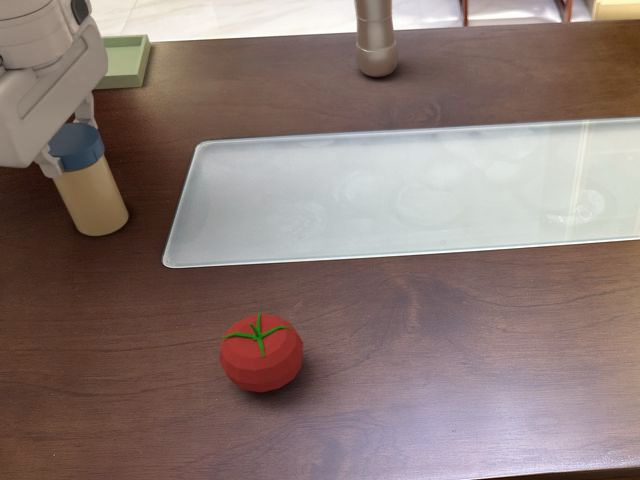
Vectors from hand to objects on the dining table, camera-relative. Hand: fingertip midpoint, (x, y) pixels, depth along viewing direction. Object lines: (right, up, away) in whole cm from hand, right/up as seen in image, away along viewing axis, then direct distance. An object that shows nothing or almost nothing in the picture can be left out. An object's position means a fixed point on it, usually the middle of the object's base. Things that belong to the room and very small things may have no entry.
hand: (73, 152), depth 80 cm
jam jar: (0, -6, +7) cm, 9 cm away
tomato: (+24, -25, -7) cm, 35 cm away
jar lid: (0, +1, -1) cm, 1 cm away
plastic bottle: (+30, +21, +31) cm, 48 cm away
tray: (-12, +21, +29) cm, 38 cm away
